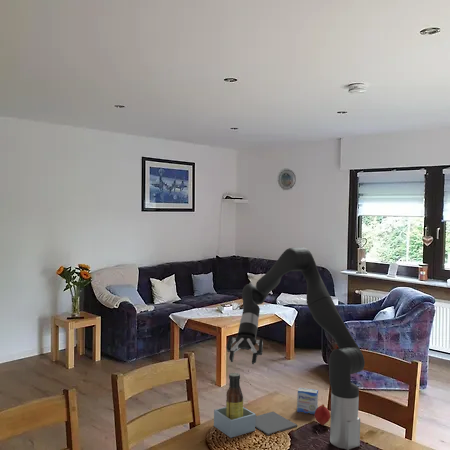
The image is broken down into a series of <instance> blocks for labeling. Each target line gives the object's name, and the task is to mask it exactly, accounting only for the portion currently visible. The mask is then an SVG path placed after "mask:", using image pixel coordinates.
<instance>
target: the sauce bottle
mask: <svg viewBox="0 0 450 450" xmlns="http://www.w3.org/2000/svg"><path fill="white" fill-rule="evenodd" d="M228 379H229V384H228V385H229V387H228V389H227V391H226V395H225V396H226V399H225V401H226V402H225V403H226V405H225V407H226V417H228V418H229V419H231V420H233V419H237V418H240V417H243V407H244V394H243V392H242V388H241V385H240V383H241V382H240V381H241V380H240V379H241V375H240V373H239V372H238V373H237V372H231V373H229V374H228Z"/></svg>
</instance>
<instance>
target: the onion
mask: <svg viewBox="0 0 450 450" xmlns="http://www.w3.org/2000/svg"><path fill="white" fill-rule="evenodd" d="M313 415H314V419H315V421H316V422H317V423H318V424H320V425H321V426H324V425H326V424H328V423H329V421H330V420H331V411H329V409H328V408H327V407H326V406H325V403H322V404H321V405H318V408H317V409H316V411H315V414H313Z"/></svg>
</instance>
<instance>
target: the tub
mask: <svg viewBox="0 0 450 450" xmlns="http://www.w3.org/2000/svg"><path fill="white" fill-rule="evenodd" d="M256 416H257V415H256V413H255V412H253V411H251V410H249V409H248V408H246V407H244V406H243V417H240V418H237V419H233V420H231V419H229V418H228V417H226V406H224V407H220V408H216V409H213V427H214V428H216V429H217V430H219V431H220V432H222V433H223V434H224V435H226V436H227V437H229V438H230V439H232V438H235V437H238V436H241V435H246V434H248V433H251V432H254V431H256V428H255V426H256Z"/></svg>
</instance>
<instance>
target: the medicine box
mask: <svg viewBox="0 0 450 450" xmlns="http://www.w3.org/2000/svg"><path fill="white" fill-rule="evenodd" d="M296 396H297V397H296V398H297V400H296V401H297V402H296V412H297V413H300V412H304V413H303V414H308V413H310V414H309V415H315V411H316V409H317V408H318V407H319V405H318V403H319V390H318V389H311V388H305V387H298V389H297V395H296Z"/></svg>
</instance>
